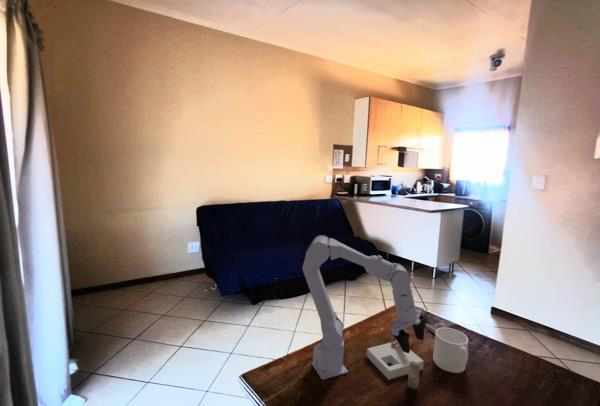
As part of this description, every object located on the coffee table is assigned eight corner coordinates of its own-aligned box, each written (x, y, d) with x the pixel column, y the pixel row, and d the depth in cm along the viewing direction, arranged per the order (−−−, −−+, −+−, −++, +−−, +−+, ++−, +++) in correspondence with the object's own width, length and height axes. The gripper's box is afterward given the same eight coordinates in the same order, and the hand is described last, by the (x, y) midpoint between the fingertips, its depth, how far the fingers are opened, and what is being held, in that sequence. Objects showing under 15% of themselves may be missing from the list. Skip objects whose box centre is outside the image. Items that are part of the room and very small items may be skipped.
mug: (427, 354, 106) (429, 328, 105) (452, 353, 107) (455, 326, 106) (449, 380, 94) (452, 350, 92) (477, 378, 95) (481, 348, 94)
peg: (412, 390, 89) (414, 369, 88) (405, 383, 92) (407, 362, 91) (420, 387, 90) (422, 366, 89) (413, 380, 93) (414, 360, 92)
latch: (409, 342, 99) (407, 338, 100) (395, 345, 105) (394, 341, 106) (413, 340, 100) (412, 337, 100) (400, 344, 106) (398, 340, 107)
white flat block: (388, 379, 93) (389, 367, 93) (366, 356, 104) (367, 345, 104) (422, 369, 98) (423, 357, 98) (398, 347, 109) (399, 337, 109)
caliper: (459, 356, 106) (461, 340, 105) (456, 356, 106) (458, 340, 105) (425, 325, 126) (426, 311, 125) (423, 325, 126) (424, 311, 125)
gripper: (401, 318, 83) (411, 362, 85) (429, 297, 92) (437, 337, 93) (381, 312, 89) (390, 354, 91) (409, 292, 97) (417, 331, 99)
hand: (413, 345), depth 92 cm, fingers open, 7 cm apart
